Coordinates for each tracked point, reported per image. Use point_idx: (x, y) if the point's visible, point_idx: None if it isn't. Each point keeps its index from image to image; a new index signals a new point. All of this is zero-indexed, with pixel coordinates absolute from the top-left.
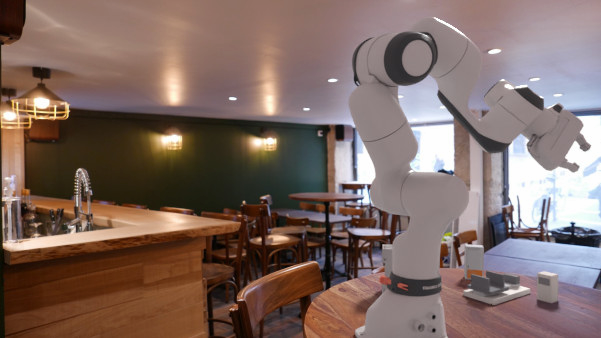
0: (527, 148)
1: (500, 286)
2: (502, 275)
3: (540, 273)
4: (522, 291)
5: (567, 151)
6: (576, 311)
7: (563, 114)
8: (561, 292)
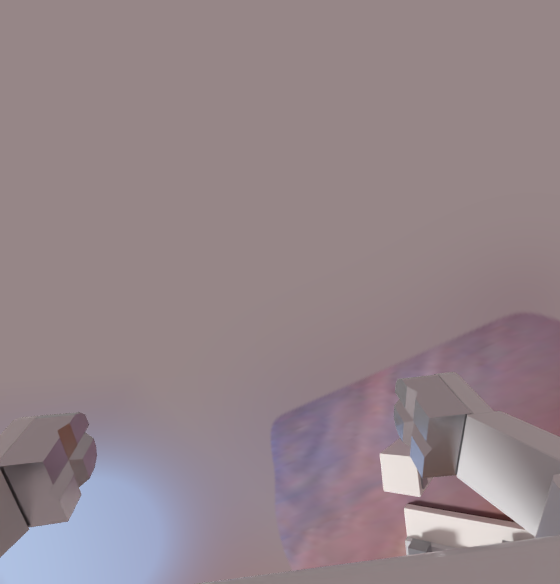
0: None
1: None
2: None
3: (415, 488)
4: (444, 514)
5: (527, 556)
6: None
7: None
8: (338, 456)
